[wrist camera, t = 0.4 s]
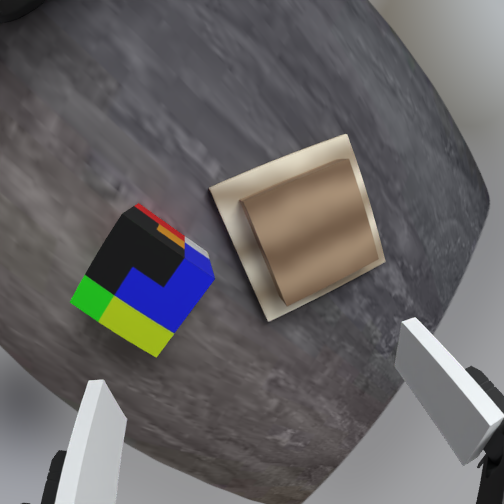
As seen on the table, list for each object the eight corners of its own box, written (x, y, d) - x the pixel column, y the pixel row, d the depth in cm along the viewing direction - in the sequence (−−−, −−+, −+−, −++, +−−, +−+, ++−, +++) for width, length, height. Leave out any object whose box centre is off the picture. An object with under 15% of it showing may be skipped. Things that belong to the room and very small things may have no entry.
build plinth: (208, 187, 36) (211, 189, 32) (341, 135, 38) (359, 131, 34) (265, 316, 42) (274, 332, 37) (379, 258, 43) (397, 267, 39)
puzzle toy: (207, 252, 38) (215, 278, 29) (161, 315, 39) (156, 357, 29) (138, 203, 35) (122, 213, 26) (95, 271, 36) (69, 302, 26)
